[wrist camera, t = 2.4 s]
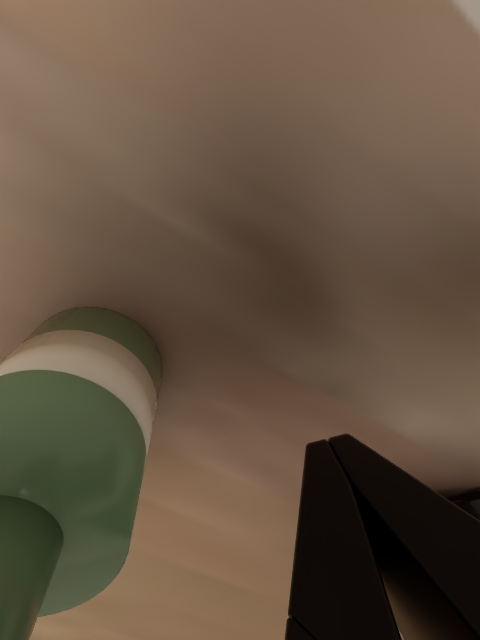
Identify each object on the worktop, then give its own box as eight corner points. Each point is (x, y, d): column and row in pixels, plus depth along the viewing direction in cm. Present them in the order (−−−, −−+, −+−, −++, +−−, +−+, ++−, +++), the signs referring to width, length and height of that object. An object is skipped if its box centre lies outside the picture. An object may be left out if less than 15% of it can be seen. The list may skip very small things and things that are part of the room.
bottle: (178, 406, 15) (143, 788, 6) (58, 437, 15) (-173, 872, 6) (137, 290, 13) (-12, 574, 4) (0, 326, 13) (-475, 696, 4)
